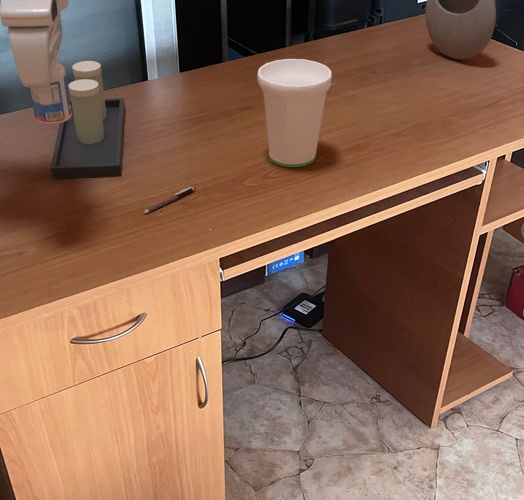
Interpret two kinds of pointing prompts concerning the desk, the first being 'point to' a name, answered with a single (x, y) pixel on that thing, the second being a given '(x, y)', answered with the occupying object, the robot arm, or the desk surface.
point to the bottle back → (91, 78)
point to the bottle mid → (87, 111)
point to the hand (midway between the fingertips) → (49, 93)
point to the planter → (460, 26)
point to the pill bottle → (54, 99)
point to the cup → (293, 108)
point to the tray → (90, 147)
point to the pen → (171, 199)
